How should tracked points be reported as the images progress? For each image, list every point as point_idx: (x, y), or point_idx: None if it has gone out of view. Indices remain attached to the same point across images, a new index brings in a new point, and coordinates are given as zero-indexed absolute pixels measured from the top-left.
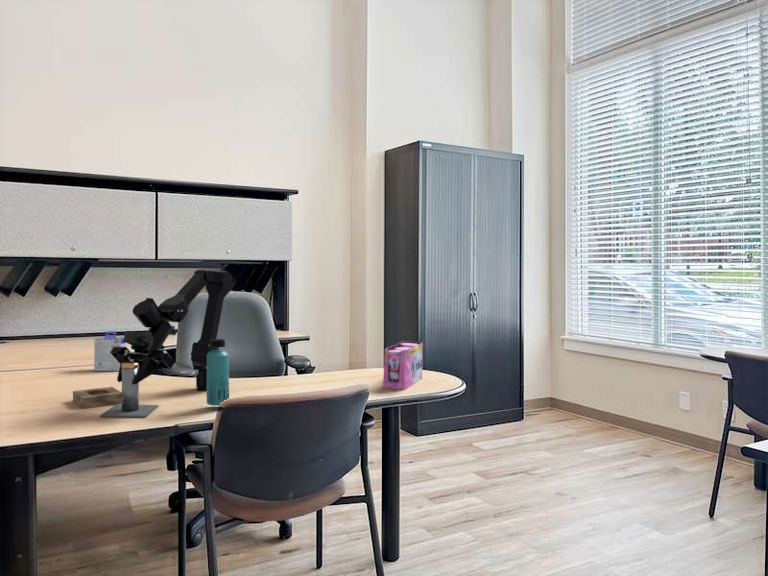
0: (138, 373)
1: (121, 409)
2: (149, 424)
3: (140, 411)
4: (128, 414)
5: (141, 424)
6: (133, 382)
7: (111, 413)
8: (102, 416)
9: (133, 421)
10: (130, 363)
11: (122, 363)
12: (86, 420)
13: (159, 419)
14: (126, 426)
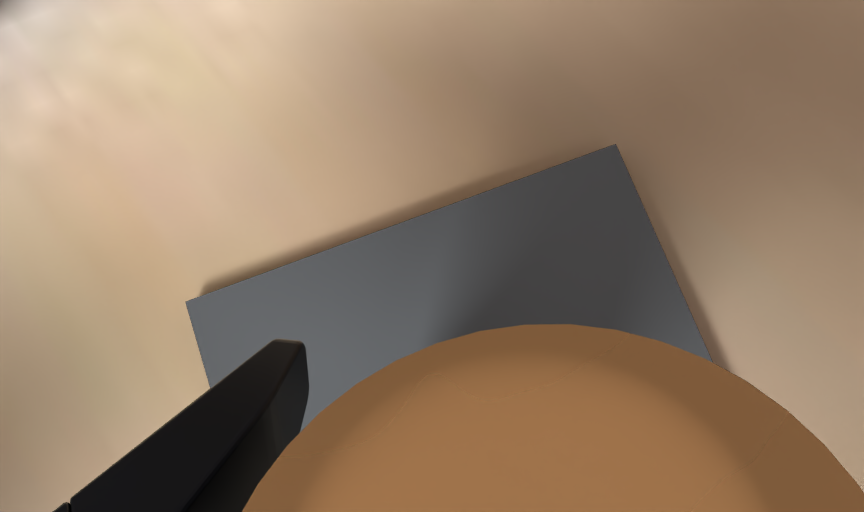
0: (173, 457)
1: None
2: (34, 130)
3: None
4: (371, 277)
5: (100, 106)
6: (293, 341)
7: (561, 250)
8: (583, 156)
9: (225, 161)
10: (408, 499)
11: (737, 385)
12: (649, 39)
13: (36, 304)
14: (185, 13)
